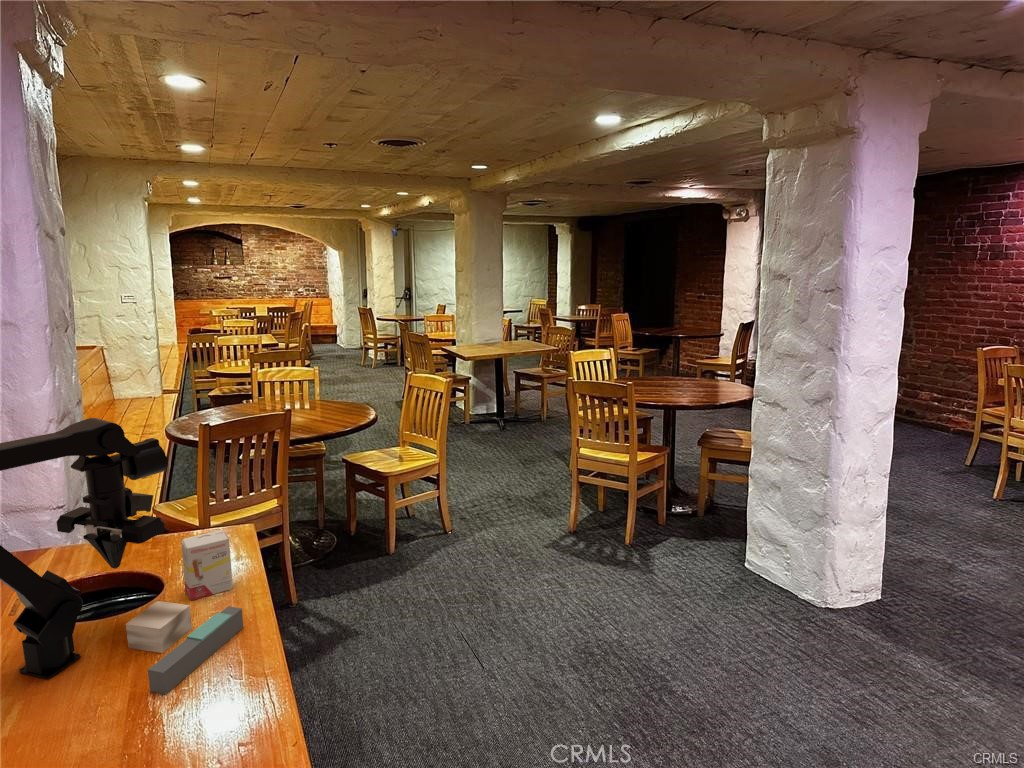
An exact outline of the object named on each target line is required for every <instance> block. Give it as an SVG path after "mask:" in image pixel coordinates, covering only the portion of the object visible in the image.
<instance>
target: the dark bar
mask: <svg viewBox="0 0 1024 768" xmlns="http://www.w3.org/2000/svg"><path fill="white" fill-rule="evenodd" d="M243 619H244V618H243V608H240V607H236V606H227V607H225V608H223V610H221V611H220V612H216V613H215V614H214V615H212V616H211V617H210V618H208V619H207V620H206V621H204V622H203V623H202V624H201V625H199V626H198V627H197V628H195V629H194V630H192V632H190V634H188V635H187V636H186V638H185V640H183V641H182V642H180V644H179V645H177V646H175V648H173V649H172V650H171V651H169V652H168V653H167V654H166V655H164V656H163V657H162V658H161V659H159V660H158V661H157V662H155V663H154V664H153V665H152V666H151V667H149V668H148V669H147V674H148V676H147V677H148V685H149V691H150V692H152V693H157V694H161V695H167V694H168V693H169V692H170V691H171V690H173V689H174V688H175V687H177V685H178V684H180V683H181V682H182V681H183V680H184V679H185V678H186V677H188V676H189V675H190V674H191V673H192V672H194V671H195V670H196V669H197V668H198V667H199V666H200V665H202V664H203V663H204V662H205V661H206V660H207V659H208V658H210V657H211V656H212V655H213V654H214V653H216V652H217V651H218V650H219V649H220V648H221V647H222V646H224V645H225V644H226V643H227V642H228V641H230V639H232V638H233V637H234V636H235V635H236V634H238V632H240V631H241V630H242V629H244V620H243Z"/></svg>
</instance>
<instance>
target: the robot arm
mask: <svg viewBox="0 0 1024 768" xmlns="http://www.w3.org/2000/svg"><path fill="white" fill-rule="evenodd" d="M125 435H126V433H125V432H124V429H123V428H122V426H121V425H120V424H118V423H116V422H112V421H109V420H106V419H101V418H97V417H90V418H89V417H88V418H86V419H83V420H80V421H76V422H75V423H72V424H69V425H68V426H65V427H64V428H63V429H61V430H57V431H55V432H52V433H45V434H40V435H36V436H30V437H25V438H20V439H15V440H14V439H13V440H9V441H4V442H0V471H1V472H2V471H6V470H10V469H14V468H21V467H24V466H28V465H33V464H38V463H42V462H46V461H52V460H56V459H60V458H65V457H73V456H76V457H77V459H76V460H75V461H74V462H72V464H71V465H70V468H71V470H76V471H79V472H81V473H85V480H86V487H87V488H86V489H87V495H85V496H84V495H83V496H82V503H85V504H89V507H87V506H79V507H77V508H74V509H72V510H69V511H68V512H66V513H63V514H60V516H59V517H58V519H57V521H56V528H57V529H56V531H57V532H59V533H66V534H70V533H72V532H74V530H75V528H76V527H75V526H76V525H78V526H83V528H84V529H85V530H86V534H85V535H83V537H82V538H83V540H86V541H87V542H88V543H89V544H90V545H91V546H92V547H93V548H94V549H95V550H96V551H97V552H98V553H99V554H100V556H101V557H102V558H103V560H104V561H106V563H107V564H108V565H109V567H110V568H111V569H114V570H115V569H118V568H119V567H120V566H121V563H122V559H123V557H124V553H125V549H126V547H127V544H128V543H130V544H143V543H145V542H147V541H150V540H151V539H153V538H154V537H156V536H158V535H161V534H162V533H164V532H165V522H164V519H162V518H161V517H158V516H152V515H151V516H150V515H141V516H140V517H138V518H136V519H131V518H133V517H134V516H137V514H138V513H137V512H147V513H150V512H151V511H152V505H153V501H154V500H153V499H154V495H153V494H148V493H147V494H146V493H140V492H133V490H132V489H131V488H129V487H125V486H126V485H125V478H126V477H127V478H128V479H130V480H131V481H137V480H140V479H143V478H147V477H151V476H152V475H153V476H154V475H157V474H160V473H164V472H165V471H166V470H167V468H168V465H169V460H168V456H167V455H166V452H165V451H164V449H163V447H162V446H161V445H160V440H159V439H158V438H154V437H150V438H146V439H144V440H142V441H139V442H138V441H137V442H134V443H132V442H131V441H130V440H129V439H128V438H127V437H126V436H125ZM0 582H2V583H3V584H5V585H6V586H7V587H9V588H10V589H11V590H13V591H14V592H15V593H16V595H17V597H18V599H19V601H20V602H21V603H22V605H23V606H24V608H23V610H22V611H21V612H20V614H19V615H18V616H17V618H16V619H15V620H14V622H13V626H14V627H15V629H16V630H17V631H18V632H19V633H21V634H23V635H25V639H23V640H22V641H21V644H22V652H23V658H24V663H25V665H24V666H22V667H21V668H19V670H18V672H19V674H23V675H27V676H33V677H37V678H41V679H47V680H48V679H51V678H53V677H54V676H56V675H57V674H58V673H60V672H61V671H63V670H64V669H66V668H67V667H69V666H70V665H72V664H73V663H74V662H76V661H78V660H79V659H81V654H80V653H77V652H75V651H76V650H75V643H74V635H73V634H74V632H75V628H76V625H77V620H78V616H79V615H80V613H81V611H82V608H83V603H84V601H83V598H82V597H81V596H80V595H79V594H81V593H82V591H81V590H80V589H77V588H76V587H74V586H72V585H71V584H70V583H69V582H68V581H67V579H66V578H64V577H62V576H59V575H58V574H56V573H54V572H52V571H50V570H49V569H48V570H46V571H44V573H43V574H42V575H41V576H40V575H39V574H38V573H37V572H36V571H34V570H33V569H32V568H31V567H29V566H28V565H27V564H26V563H24V561H23V562H22V560H20V559H19V558H18V557H17V556H16V555H14V554H12V553H11V551H9V550H8V549H6V548H5V547H3V546H2V545H1V544H0Z"/></svg>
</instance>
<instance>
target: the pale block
mask: <svg viewBox="0 0 1024 768" xmlns="http://www.w3.org/2000/svg"><path fill="white" fill-rule="evenodd" d="M191 613H192V612H191V605H190V604H182V603H174V602H167V601H159V600H156V601H155V602H154V603H152V604H151V605H150V606H148V607H147V608H146V609H144V610H143V611H142V612H140V613H139V614H138V615H136V616H135V617H133V618H132V619H130V620H129V621H128V622H126V623H125V629H126V637H127V646H128V649H134V650H140V651H147V652H152V653H153V652H154V653H161V654H163V653H165V652H166V651H167V650H168V649H169V648H170V647H172V646H173V645H174V644H175V643H177V641H179V640H180V639H181V638H182V637H183V636H184V635H186V634H187V633H188V632H189V631H191V630H192V628H193V625H192V615H191Z"/></svg>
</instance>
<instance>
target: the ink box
mask: <svg viewBox="0 0 1024 768" xmlns="http://www.w3.org/2000/svg"><path fill="white" fill-rule="evenodd" d="M229 538H230V537H229V536H228V534H227V533H226V532H225V530H217V531H212V532H208V533H203V534H198V535H194V536H190V537H185V538H183V539H182V540H181V552H182V567H183V579H184V580H183V581H184V591H185V593H186V595H187V597H188V599H189V600H190V601H194V600H198V599H201V598H205V597H208V596H212V595H215V594H219V593H223V592H226V591H229V590H232V589H233V588H234V584H233V574H232V573H233V572H232V559H231V548H230V539H229Z"/></svg>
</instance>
